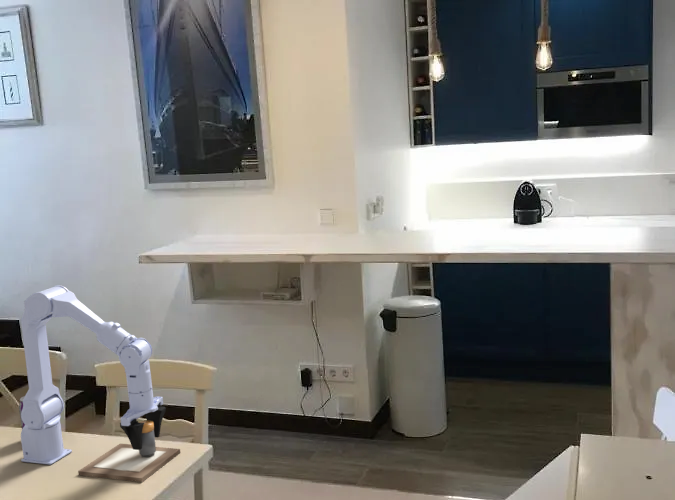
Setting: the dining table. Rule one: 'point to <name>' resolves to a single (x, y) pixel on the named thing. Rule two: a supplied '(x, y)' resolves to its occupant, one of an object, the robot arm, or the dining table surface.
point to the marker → (148, 439)
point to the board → (128, 463)
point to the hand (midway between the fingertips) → (146, 442)
